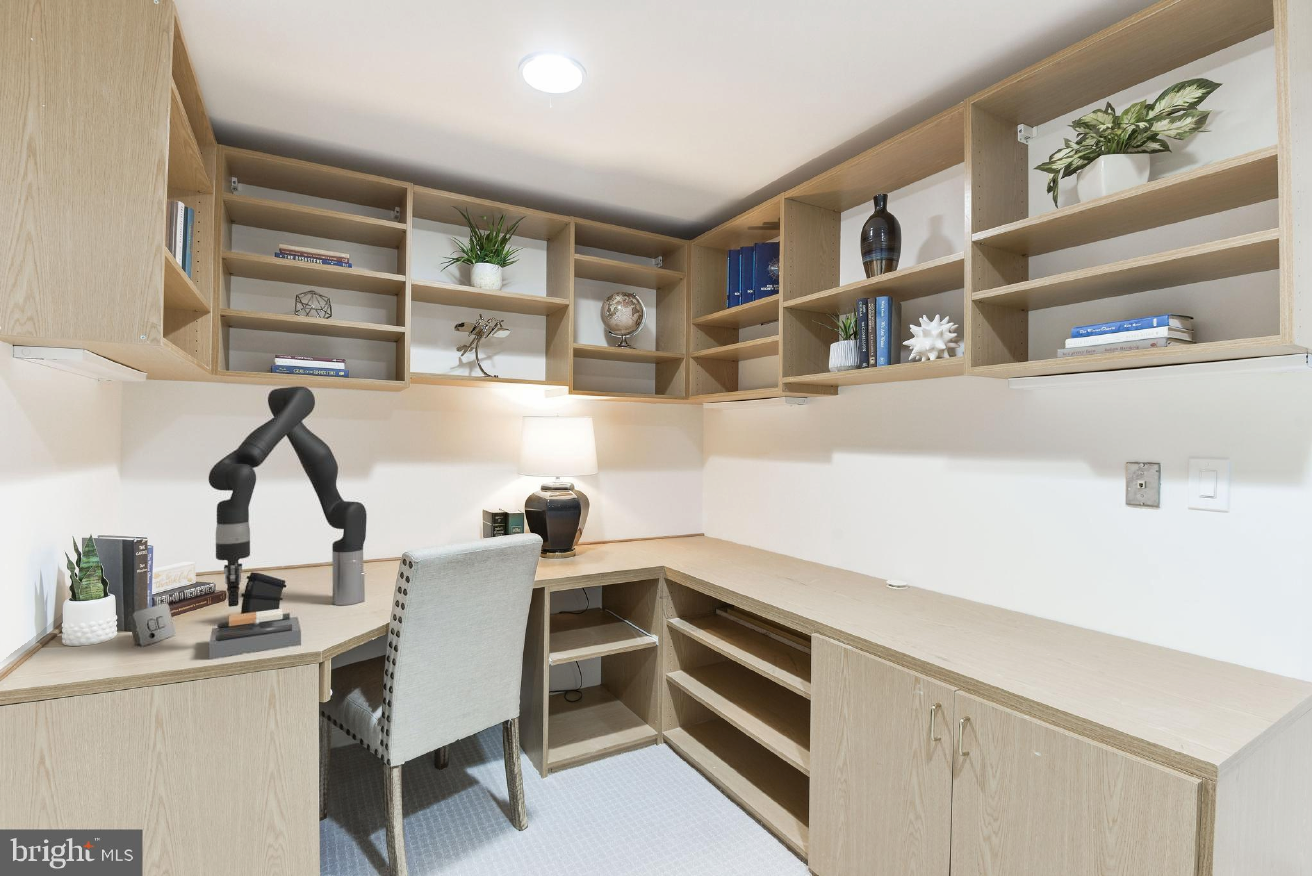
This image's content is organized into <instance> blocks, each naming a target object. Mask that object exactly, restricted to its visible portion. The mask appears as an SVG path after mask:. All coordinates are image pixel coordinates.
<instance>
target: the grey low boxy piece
mask: <svg viewBox="0 0 1312 876" xmlns="http://www.w3.org/2000/svg"><path fill="white" fill-rule="evenodd" d="M216 625H217V627H212V628H211V632H210V637H209V638H210V639H209V642H208V643H209V644H208V648H209V654H208V655H209V656H208V657H209V660H213V659H212V658H215V659H220V657H221V658H225V657H224V656H228V657H231V656H230V655H234V656H239V655H238V654H240V655H244V654H243V653H247V654H252V653H251V652H253V653H256V652H255V651H259V652H264V650H266V651H270V650H269V649H272V650H277V648H278V649H283V648H290V647H289V646H291V647H297V646H301V645H302V629H301V624H300V620H299V618H298V616H293V617H292V616H291V614H290V612H287V613H283V619H279V620H271V621H264V622H259V624H258V625H254V623H250V624H242V625H235V626H229V620H227V621H221V622H219V623H217V624H216ZM300 644H301V645H300Z"/></svg>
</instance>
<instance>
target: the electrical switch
mask: <svg viewBox="0 0 1312 876" xmlns="http://www.w3.org/2000/svg"><path fill="white" fill-rule="evenodd" d="M127 618H128V619H127V620H128V623H129V626H130V631H131V635H132V638H133V642H134V645H135V646H136V645H140V646H142V647H146V646H148V644H149V645H152V644H155V643H156V642H160V641H162V640H166V639H169V638H171V637H173V636H175V635H176V633H177V632H176V630H175V626H174V621H173V617H172V614H171V608H170V605H169V604H168V603H161V604H158V605H154V606H151V607H148V608H143V609H140V610H137V611H134V613H133V614H132V615H131V616H128V617H127Z"/></svg>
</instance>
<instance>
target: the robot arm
mask: <svg viewBox="0 0 1312 876" xmlns="http://www.w3.org/2000/svg"><path fill="white" fill-rule="evenodd" d="M267 404H268V408H269V411H270V413H271V414H272V416H273V418H271V419H269V420H268V421H266V422H265V423H263V424H262V425H260V426H259V427H257V428H255V429H254V430H253V431H252V432H250V433H249V434H248V435H247V436H246V437H245V438H244V440H243V441H242V442H241V443H240V444H239V446H238V447H237V448H236V449H235V450H233V451H232V452H230V453H228V455H226V456H225V457H222V459H220V460H219V461H218V462H217V463H215V464H214V465H213V467H212V468H211V469H210V471H209V475H208V483H209V485H210V487H211V488H213V489H215V490H217V491H223V492H224V491H226V492H227V491H229V492H231V491H232V492H231V494H230V495H231V496H230V498H229V499H225V500H221V501H219V502H218V503H217V504H216V526H215V527H216V528H215V558H216V560H218V561H227V564H224V567H223V574H224V576H225V577H224V578H225V579H224V582H225V583H224V584H225V585H227V587H226V592H227V593H228V594H227V596H228V597H227V598H228V599H227V601H228V605H227V607H228V608H229V607H230V608H231V607H237V606H239V591H240V587H241V586H240V584H241V582H242V572H243V563H242V562H241V563H240V562H239V560H241V559H246V558H248V557H251V529H250V527H251V526H250V519H249V518H250V513H249V512H250V511H249V507H250V502H251V500H252V497H253V493H254V490H255V487H256V483H257V474H256V471H255V469H256V468H258V467H260V466H261V464H264V462H265V460H266V459H267V458H268V456H269V455H270V454H271V453H272V452H273V450H274V449H275V448H276V446H277V445H278V444H279V443H280V442H281V441H282V440H283V439H284V438H285V437H287V439H288V441H289V442H290V444H291V446H292V448H293V450H294V452H295V454H296V456H297V458H298V460H299V463H300V464H301V466H302V468H303V470H304V472H305V474H306V476H307V477H308V479H309V481H310V483H311V485H312V487H313V489H314V492H315V493H316V495H317V498H318V501H319V503H320V506H321V509H322V512H323V515H324V517H325V519H326V521H327V522H326V523H328V525H329V526H331V527H332V528H333V529H337V530H343V535H342V537H341V538H340V539H338V540H335V541H334V542H332V547H331V549H332V551H331V553H332V554H331V555H332V556H331V557H332V559H331V560H332V561H331V562H332V564H331V565H332V571H331V573H332V596H331V597H332V604H333V605H336V606H347V605H348V606H349V605H350V606H351V605H355V604H359V603H362V602H363V603H364V602H365V599H366V597H365V595H366V594H365V593H366V592H365V591H366V589H365V582H366V581H365V580H366V579H365V575H366V573H365V572H364V544H365V541H366V537H367V520H368V519H367V515H368V514H367V509H366V507H365V506H364V504H363V503H362V502H359V501H349V500H347V501H345V500H344V499H343V498H342V496H341V495H340V491H339V490H338V487H337V480H338V474H339V473H338V472H339V466H338V462H337V460H336V457H335V455H334V453H333V452H332V449H331V448H330V447H329V445H328V444H327V443H325V441H324V440H323V439H321V438H320V437H319V436H317V434H315V433H314V432H312V431H311V430H310V429H309V428H308V427H307V426H306V425H305V424H304V423H303V420H305V419H306V418H307V417H308V416H309V415H310V414H311V413H312V412H313V410H314V409H315V405H316V399H315V395H314V393H313V392H312V390H311V389H309V388H308V387H306V386H289V387H279V388H278V387H277V388H274V389H272V390H271V391H270V392H269V393H268V397H267ZM254 468H255V469H254Z"/></svg>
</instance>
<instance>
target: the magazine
mask: <svg viewBox="0 0 1312 876" xmlns="http://www.w3.org/2000/svg"><path fill="white" fill-rule="evenodd" d="M246 579H247V583H246V585H245V588H244V592H243V593H241V595H240V597H241V598H242V603H241V608H240V609H241V611H240V614H245V613H252V612H260V611H268V610H275V609H280V605H281V601H283V599H284V598H283V597H282V593H283V590H284V588H287V584H286V580H284V579H281V578H277V577H273V576H271V575H268V574H264V573H260V572H254V571H251V572H250V574H249V575H247V576H246Z"/></svg>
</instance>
